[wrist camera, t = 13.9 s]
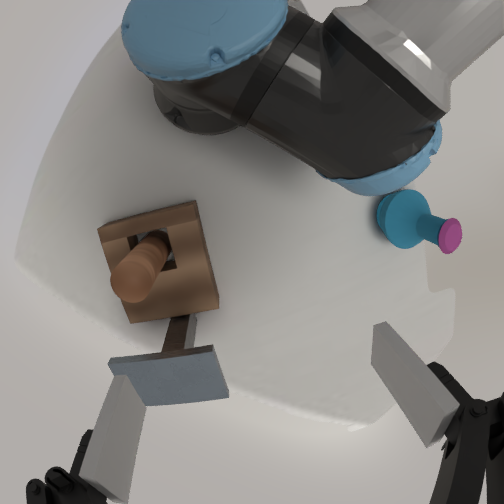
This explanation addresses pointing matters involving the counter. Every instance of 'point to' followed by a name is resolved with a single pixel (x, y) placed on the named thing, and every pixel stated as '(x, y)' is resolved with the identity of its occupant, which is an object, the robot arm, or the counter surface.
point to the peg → (141, 267)
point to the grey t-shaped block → (175, 369)
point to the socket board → (173, 272)
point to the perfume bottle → (416, 222)
